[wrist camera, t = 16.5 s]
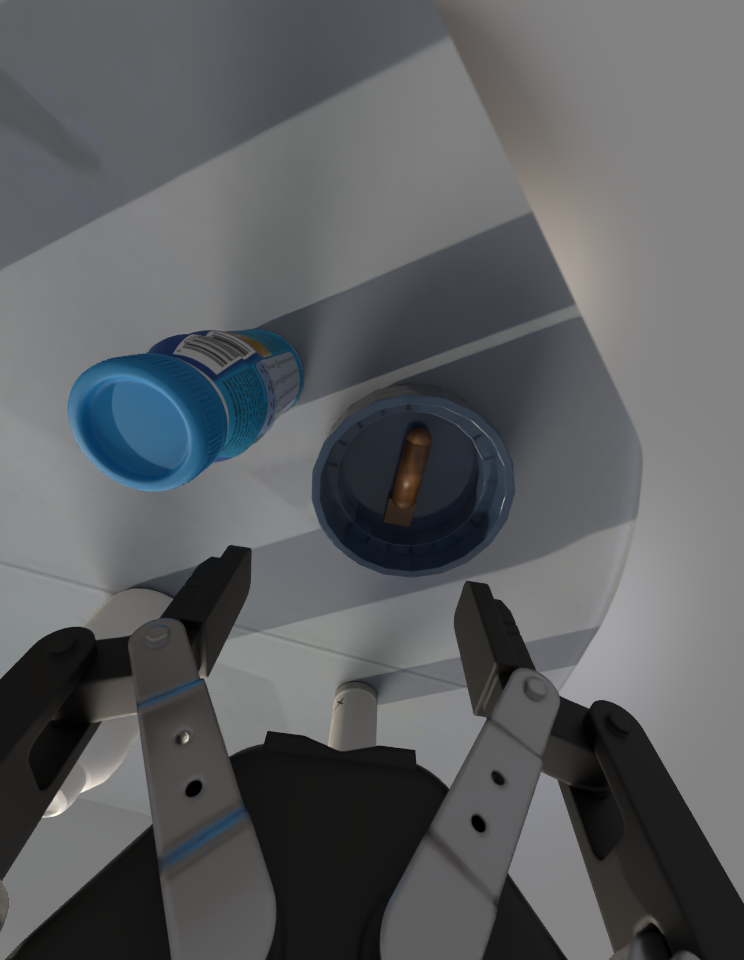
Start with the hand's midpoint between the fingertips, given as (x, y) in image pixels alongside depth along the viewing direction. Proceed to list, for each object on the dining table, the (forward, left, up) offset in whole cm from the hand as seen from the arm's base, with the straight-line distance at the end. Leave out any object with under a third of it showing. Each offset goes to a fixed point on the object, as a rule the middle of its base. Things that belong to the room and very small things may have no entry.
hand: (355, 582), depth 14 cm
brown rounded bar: (-2, +7, -25) cm, 26 cm away
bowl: (-2, +7, -26) cm, 27 cm away
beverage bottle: (+10, -6, -26) cm, 28 cm away
